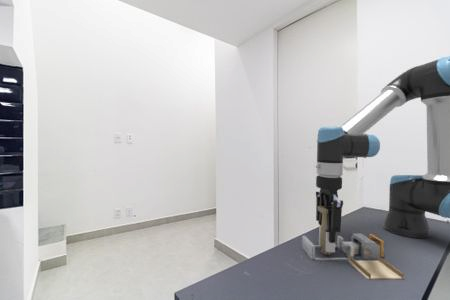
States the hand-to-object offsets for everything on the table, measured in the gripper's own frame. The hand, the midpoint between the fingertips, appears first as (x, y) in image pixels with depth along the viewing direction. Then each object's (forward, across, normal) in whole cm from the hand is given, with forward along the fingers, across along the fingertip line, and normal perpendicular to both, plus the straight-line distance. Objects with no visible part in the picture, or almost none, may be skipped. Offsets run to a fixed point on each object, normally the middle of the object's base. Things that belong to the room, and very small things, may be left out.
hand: (326, 248), depth 76 cm
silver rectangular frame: (+2, 0, 0) cm, 2 cm away
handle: (+2, 0, 0) cm, 2 cm away
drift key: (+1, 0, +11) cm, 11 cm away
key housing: (+2, 0, +13) cm, 13 cm away
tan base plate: (+2, +10, +9) cm, 14 cm away
